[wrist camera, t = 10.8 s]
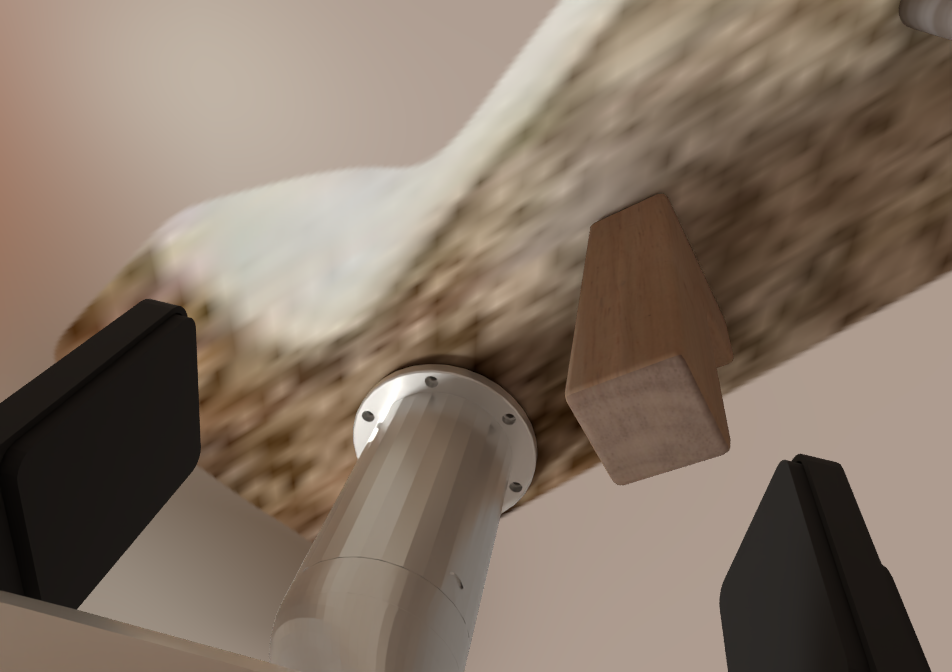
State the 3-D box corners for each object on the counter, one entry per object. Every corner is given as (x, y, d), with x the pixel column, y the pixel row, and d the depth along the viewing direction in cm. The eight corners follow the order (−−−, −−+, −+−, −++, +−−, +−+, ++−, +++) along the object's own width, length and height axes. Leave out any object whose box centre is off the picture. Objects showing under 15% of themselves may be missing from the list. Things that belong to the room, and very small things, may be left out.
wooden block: (727, 324, 42) (782, 549, 26) (653, 352, 44) (664, 578, 28) (664, 188, 39) (684, 351, 23) (587, 223, 41) (559, 396, 25)
